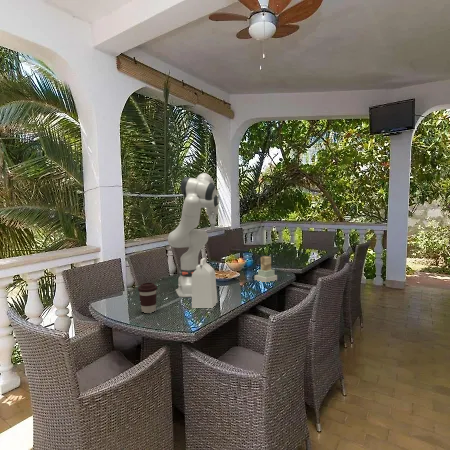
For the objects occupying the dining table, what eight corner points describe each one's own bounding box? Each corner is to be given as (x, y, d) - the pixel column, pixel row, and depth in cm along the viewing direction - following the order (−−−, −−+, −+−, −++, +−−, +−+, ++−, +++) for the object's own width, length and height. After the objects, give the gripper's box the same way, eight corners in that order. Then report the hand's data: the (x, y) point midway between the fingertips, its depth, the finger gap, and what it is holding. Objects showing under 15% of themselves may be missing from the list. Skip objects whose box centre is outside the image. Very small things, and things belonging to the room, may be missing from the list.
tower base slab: (277, 281, 244) (277, 275, 244) (265, 284, 238) (265, 278, 237) (265, 278, 253) (265, 272, 253) (254, 281, 246) (254, 275, 246)
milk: (212, 309, 188) (210, 261, 186) (191, 308, 191) (189, 260, 188) (217, 302, 200) (216, 256, 198) (197, 301, 202) (196, 256, 200)
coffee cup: (159, 308, 193) (158, 281, 191) (156, 314, 183) (155, 286, 181) (141, 309, 192) (139, 282, 191) (137, 315, 182) (135, 286, 181)
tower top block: (274, 275, 243) (274, 269, 243) (266, 277, 239) (266, 271, 238) (266, 273, 250) (266, 268, 249) (258, 275, 245) (258, 270, 245)
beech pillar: (271, 269, 244) (270, 256, 243) (266, 270, 241) (265, 257, 240) (266, 268, 248) (265, 256, 247) (260, 269, 245) (260, 257, 244)
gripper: (217, 212, 251) (218, 231, 252) (215, 210, 271) (216, 228, 273) (208, 212, 251) (209, 231, 252) (207, 210, 271) (208, 228, 272)
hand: (212, 230), depth 262 cm, fingers open, 8 cm apart
